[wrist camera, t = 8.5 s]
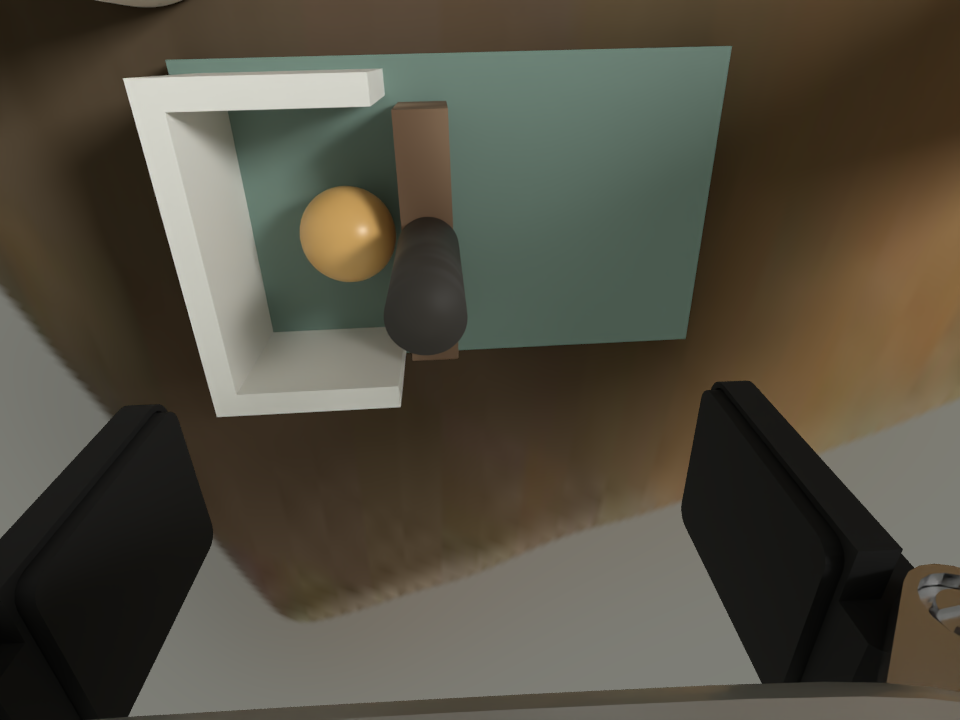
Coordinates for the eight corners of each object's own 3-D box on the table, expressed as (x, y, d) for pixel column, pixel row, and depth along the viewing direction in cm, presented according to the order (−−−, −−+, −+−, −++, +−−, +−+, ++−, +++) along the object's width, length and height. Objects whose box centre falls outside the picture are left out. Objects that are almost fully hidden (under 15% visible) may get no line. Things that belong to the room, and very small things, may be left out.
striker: (451, 100, 24) (461, 130, 14) (460, 321, 29) (472, 456, 19) (392, 102, 24) (363, 133, 14) (411, 323, 29) (398, 460, 19)
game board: (716, 46, 25) (815, 42, 19) (675, 326, 32) (738, 398, 25) (180, 59, 24) (84, 60, 18) (247, 348, 31) (195, 428, 24)
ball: (279, 198, 22) (306, 178, 26) (297, 297, 24) (319, 266, 27) (385, 195, 22) (396, 176, 26) (394, 294, 24) (404, 264, 27)
